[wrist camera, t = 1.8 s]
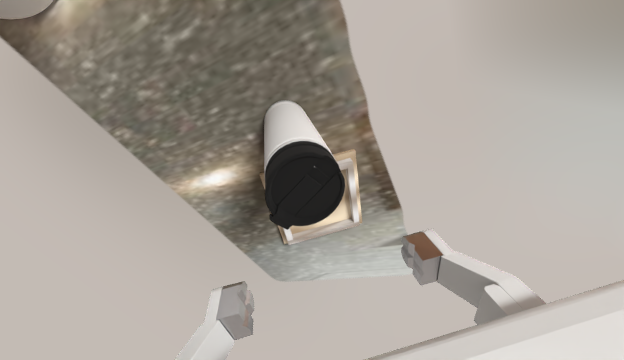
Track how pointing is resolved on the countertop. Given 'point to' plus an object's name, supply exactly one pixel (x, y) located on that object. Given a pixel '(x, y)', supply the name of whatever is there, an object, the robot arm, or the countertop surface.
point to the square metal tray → (343, 214)
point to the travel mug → (298, 168)
